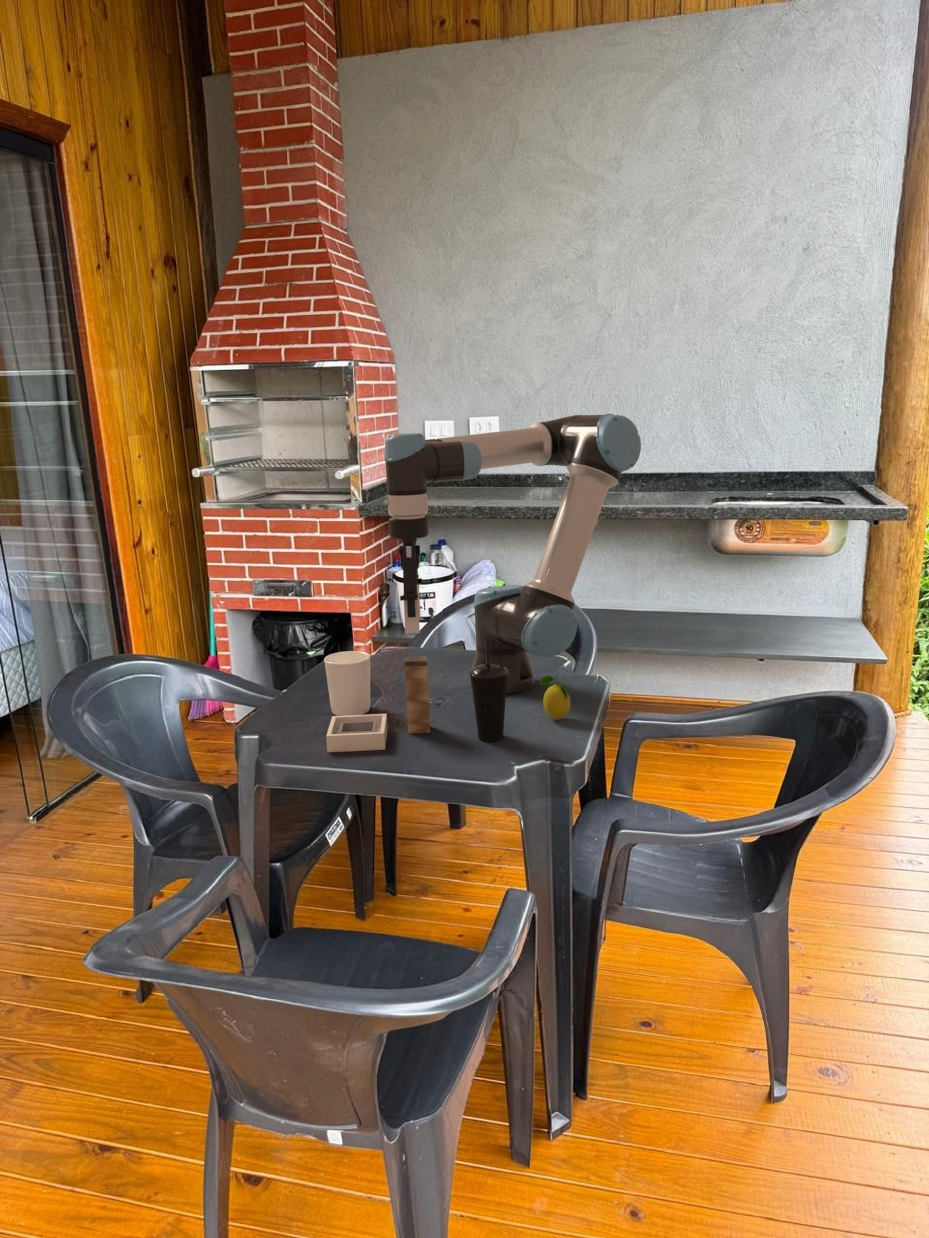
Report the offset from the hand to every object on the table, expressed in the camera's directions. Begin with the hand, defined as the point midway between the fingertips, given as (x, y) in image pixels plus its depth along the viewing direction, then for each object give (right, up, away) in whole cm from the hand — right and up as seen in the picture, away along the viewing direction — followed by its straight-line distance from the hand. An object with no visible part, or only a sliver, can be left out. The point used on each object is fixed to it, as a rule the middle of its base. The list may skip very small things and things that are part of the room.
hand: (413, 624), depth 173 cm
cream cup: (-15, -19, +19) cm, 30 cm away
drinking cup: (+15, -22, 0) cm, 27 cm away
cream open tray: (-11, -23, +1) cm, 25 cm away
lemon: (+29, -20, +8) cm, 36 cm away
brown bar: (+1, -21, +5) cm, 22 cm away
